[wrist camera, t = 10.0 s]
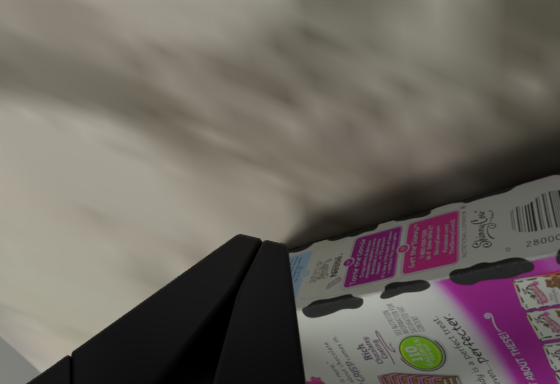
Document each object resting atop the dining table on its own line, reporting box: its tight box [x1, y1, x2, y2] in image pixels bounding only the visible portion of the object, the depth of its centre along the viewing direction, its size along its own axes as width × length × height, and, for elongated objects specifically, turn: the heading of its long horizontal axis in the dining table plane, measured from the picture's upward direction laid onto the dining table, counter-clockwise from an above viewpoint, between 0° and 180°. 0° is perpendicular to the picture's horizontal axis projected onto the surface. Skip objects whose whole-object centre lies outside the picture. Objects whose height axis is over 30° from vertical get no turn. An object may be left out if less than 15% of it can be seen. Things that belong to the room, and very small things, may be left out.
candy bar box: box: [289, 173, 560, 384], centre depth 23 cm, size 11×5×16 cm
